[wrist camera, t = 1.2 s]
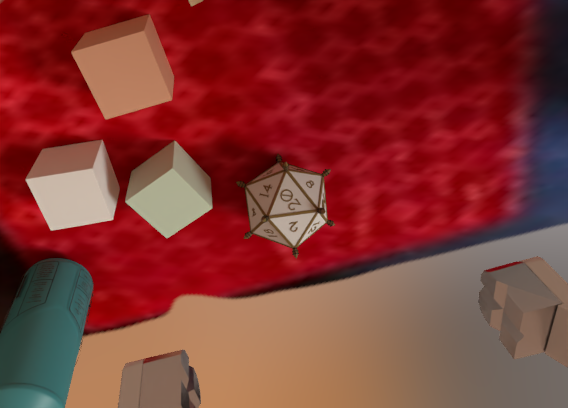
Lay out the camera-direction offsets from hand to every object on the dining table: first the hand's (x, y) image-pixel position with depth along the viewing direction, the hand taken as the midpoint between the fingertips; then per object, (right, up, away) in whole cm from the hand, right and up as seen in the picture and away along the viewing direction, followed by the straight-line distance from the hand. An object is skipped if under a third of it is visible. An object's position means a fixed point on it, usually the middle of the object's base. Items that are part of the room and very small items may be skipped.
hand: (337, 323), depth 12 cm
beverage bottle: (-24, -3, +34) cm, 42 cm away
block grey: (-19, +6, +28) cm, 35 cm away
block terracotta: (-13, +15, +23) cm, 31 cm away
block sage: (-12, +6, +30) cm, 33 cm away
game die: (-2, +6, +32) cm, 33 cm away
